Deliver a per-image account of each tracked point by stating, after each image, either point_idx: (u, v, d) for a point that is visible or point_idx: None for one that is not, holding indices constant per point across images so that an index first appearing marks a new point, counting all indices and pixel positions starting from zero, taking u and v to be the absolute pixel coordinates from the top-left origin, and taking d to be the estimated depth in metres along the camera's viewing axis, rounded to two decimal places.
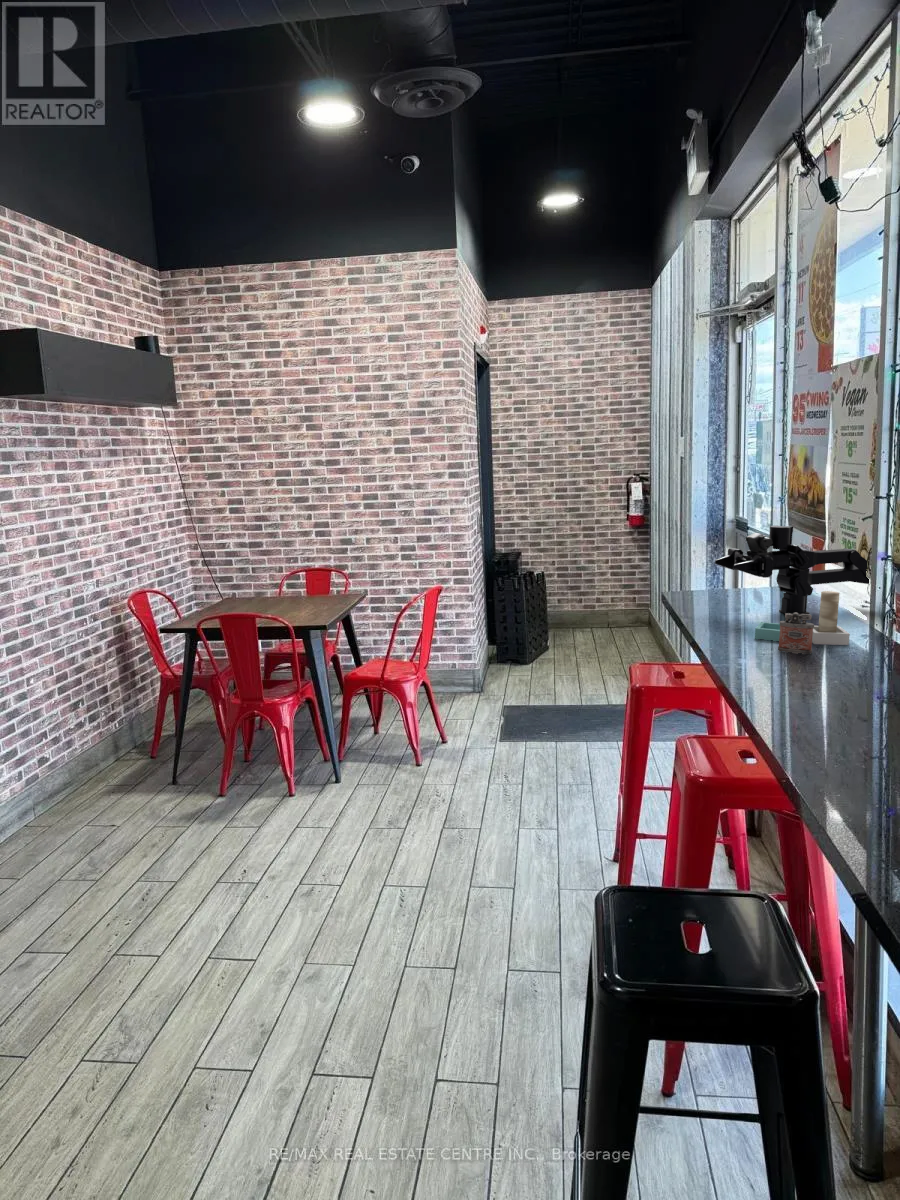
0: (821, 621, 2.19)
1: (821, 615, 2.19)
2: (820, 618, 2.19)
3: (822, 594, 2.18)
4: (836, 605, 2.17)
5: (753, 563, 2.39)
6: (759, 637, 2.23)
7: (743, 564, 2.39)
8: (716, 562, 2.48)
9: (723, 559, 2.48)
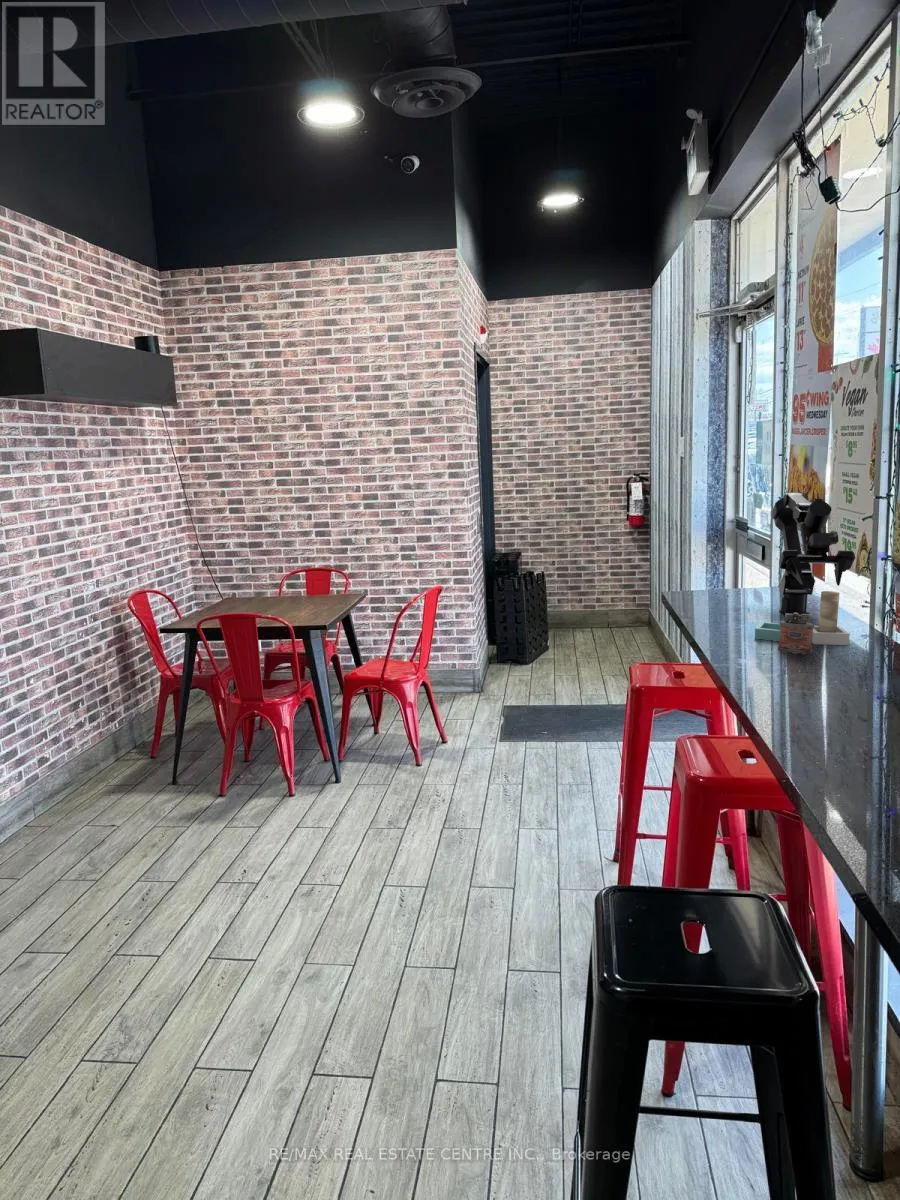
0: (821, 621, 2.19)
1: (821, 615, 2.19)
2: (820, 618, 2.19)
3: (822, 594, 2.18)
4: (836, 605, 2.17)
5: None
6: (759, 637, 2.23)
7: (841, 575, 2.25)
8: None
9: None
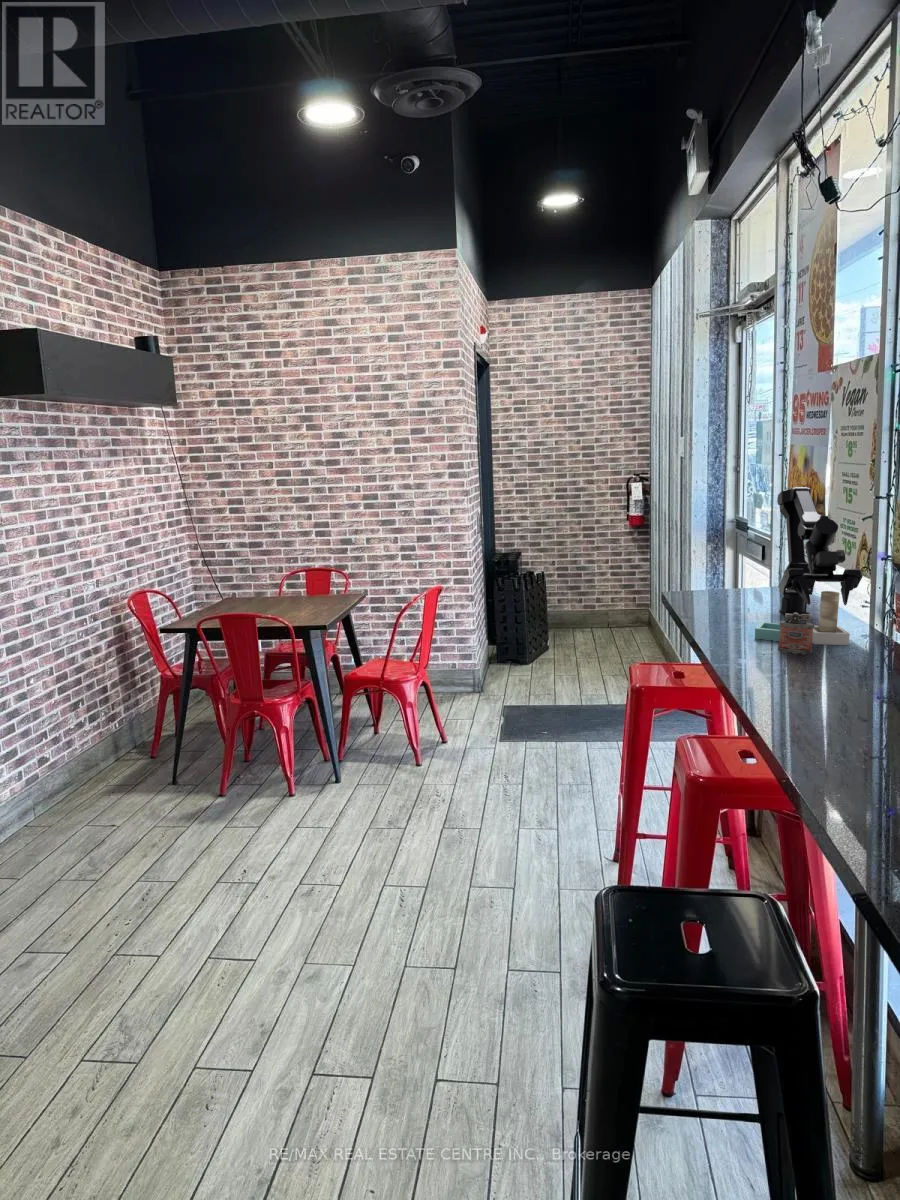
0: (821, 621, 2.19)
1: (821, 615, 2.19)
2: (820, 618, 2.19)
3: (822, 594, 2.18)
4: (836, 605, 2.17)
5: None
6: (759, 637, 2.23)
7: (848, 595, 2.21)
8: (809, 603, 2.21)
9: None
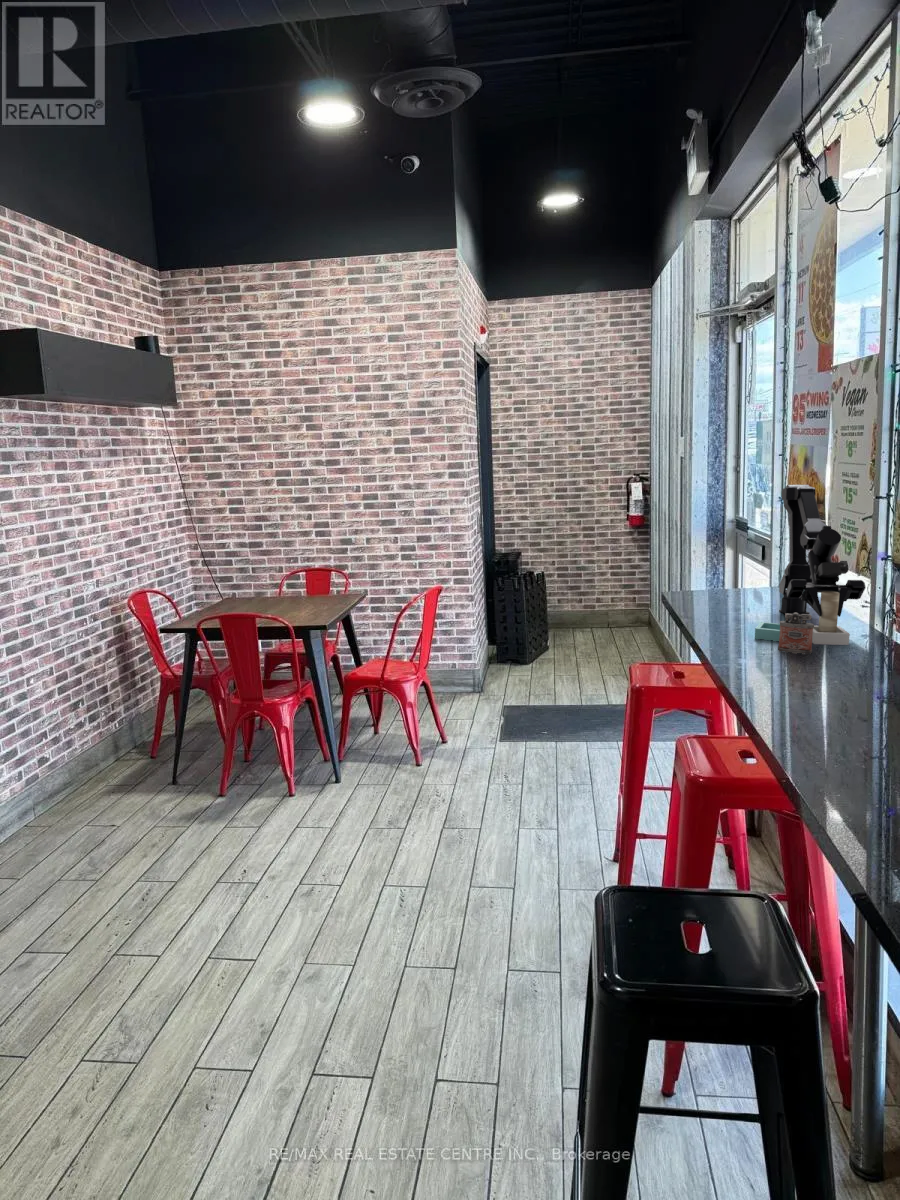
0: (821, 621, 2.19)
1: (821, 615, 2.19)
2: (820, 618, 2.19)
3: (822, 594, 2.18)
4: (836, 605, 2.17)
5: None
6: (759, 637, 2.23)
7: (842, 606, 2.18)
8: (821, 614, 2.19)
9: None
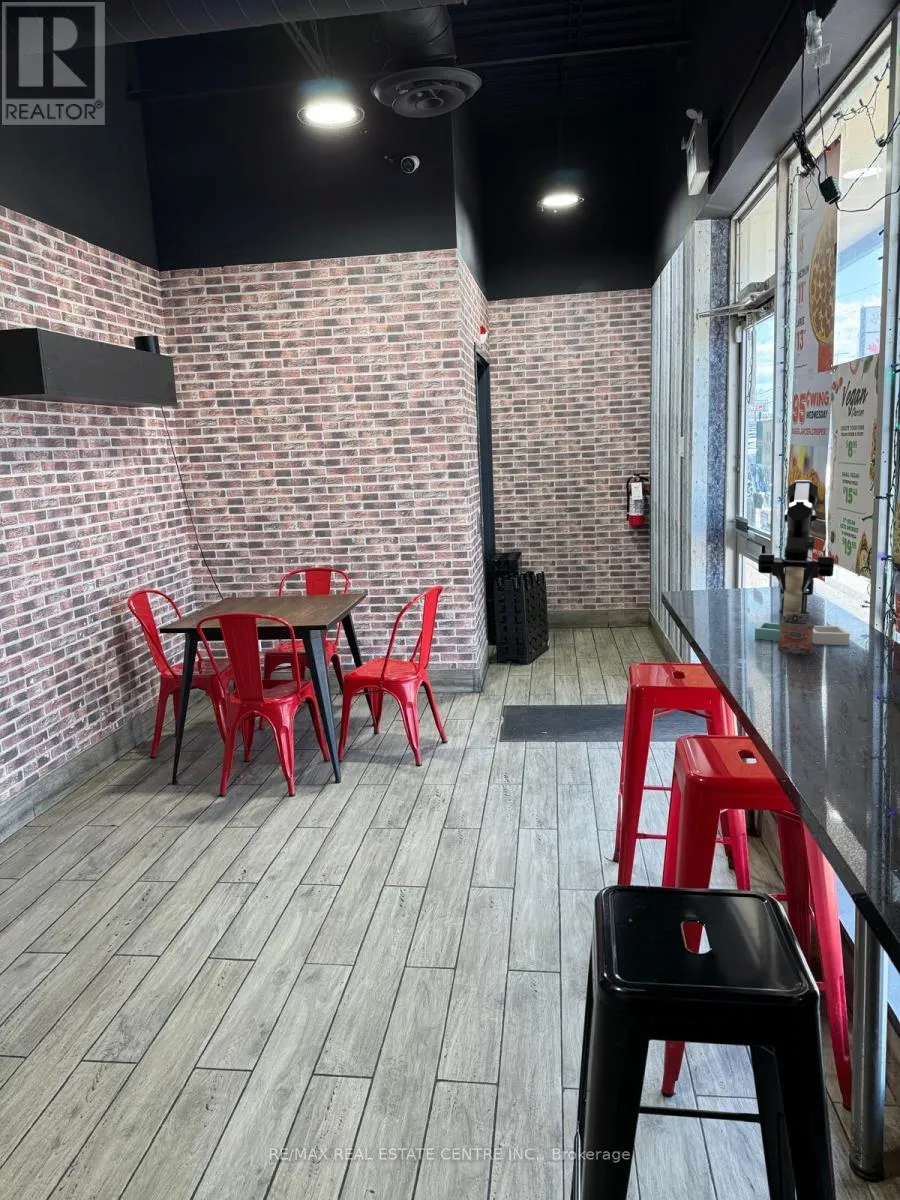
0: (785, 595, 2.20)
1: (785, 590, 2.20)
2: (784, 593, 2.21)
3: (786, 569, 2.20)
4: (799, 580, 2.18)
5: None
6: (759, 637, 2.23)
7: (807, 581, 2.19)
8: (784, 589, 2.20)
9: (784, 580, 2.21)
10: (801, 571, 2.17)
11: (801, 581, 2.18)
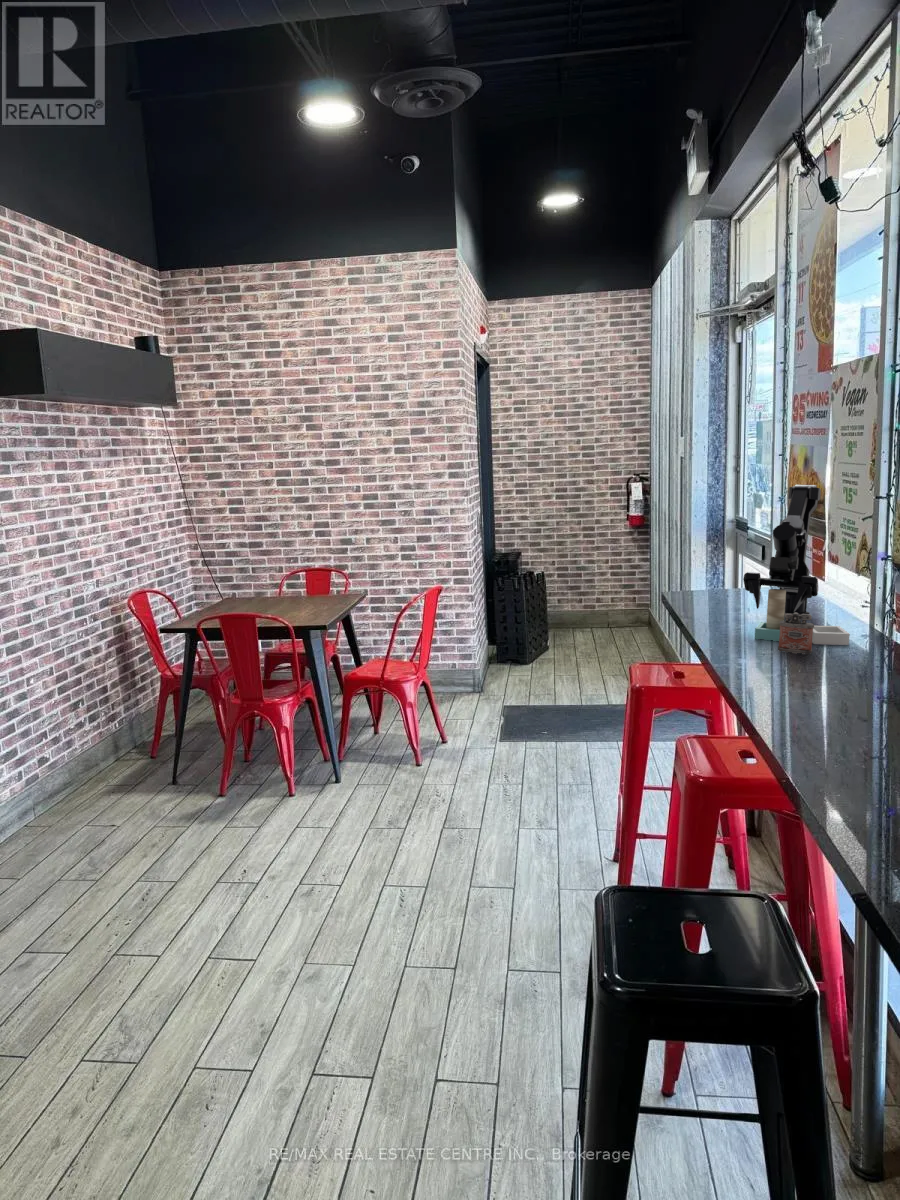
0: (767, 617, 2.24)
1: (767, 612, 2.24)
2: (767, 615, 2.24)
3: (768, 591, 2.23)
4: (780, 603, 2.21)
5: None
6: (759, 637, 2.23)
7: (798, 601, 2.20)
8: (758, 607, 2.24)
9: (758, 598, 2.25)
10: (782, 594, 2.20)
11: (782, 604, 2.21)
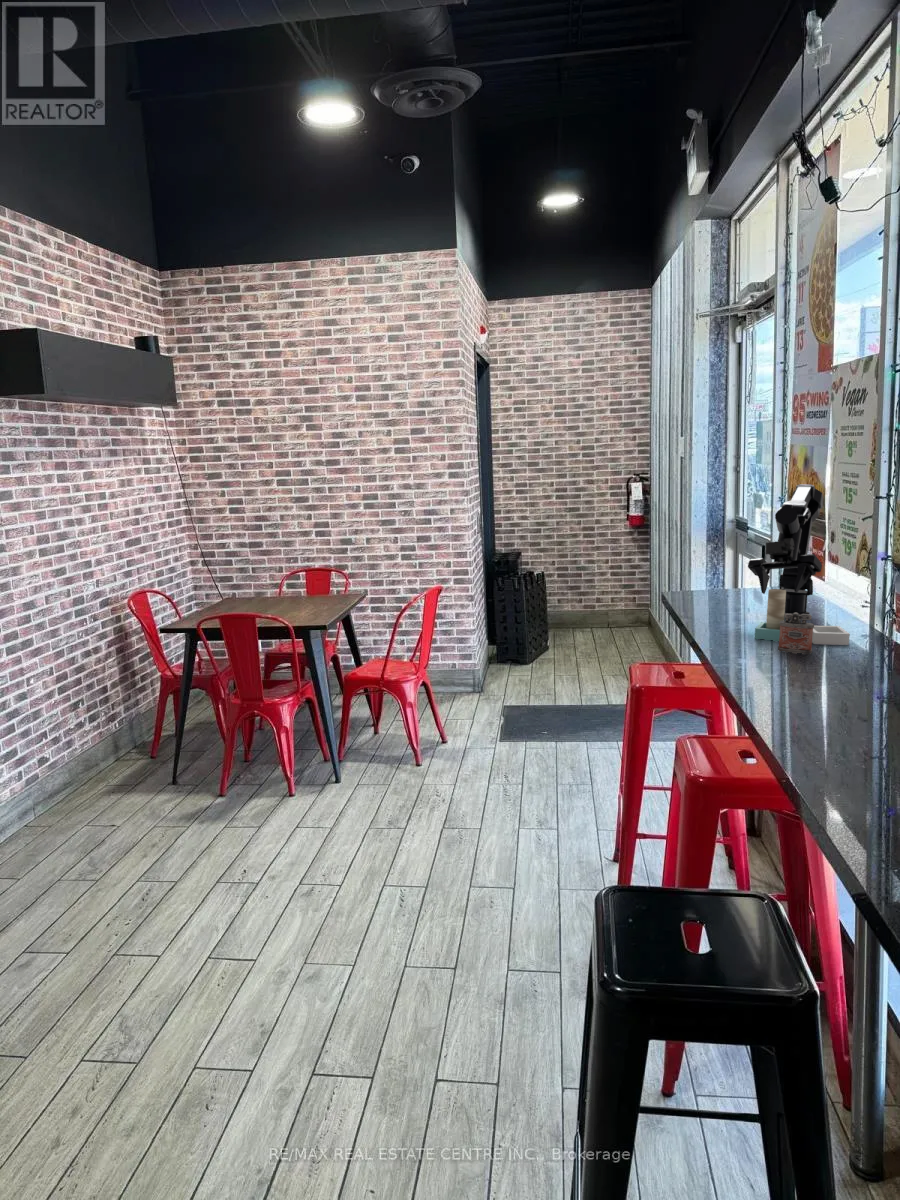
0: (767, 617, 2.24)
1: (767, 612, 2.24)
2: (767, 615, 2.24)
3: (768, 591, 2.23)
4: (780, 603, 2.21)
5: None
6: (759, 637, 2.23)
7: (799, 581, 2.24)
8: (764, 592, 2.31)
9: (763, 583, 2.31)
10: (782, 594, 2.20)
11: (782, 604, 2.21)
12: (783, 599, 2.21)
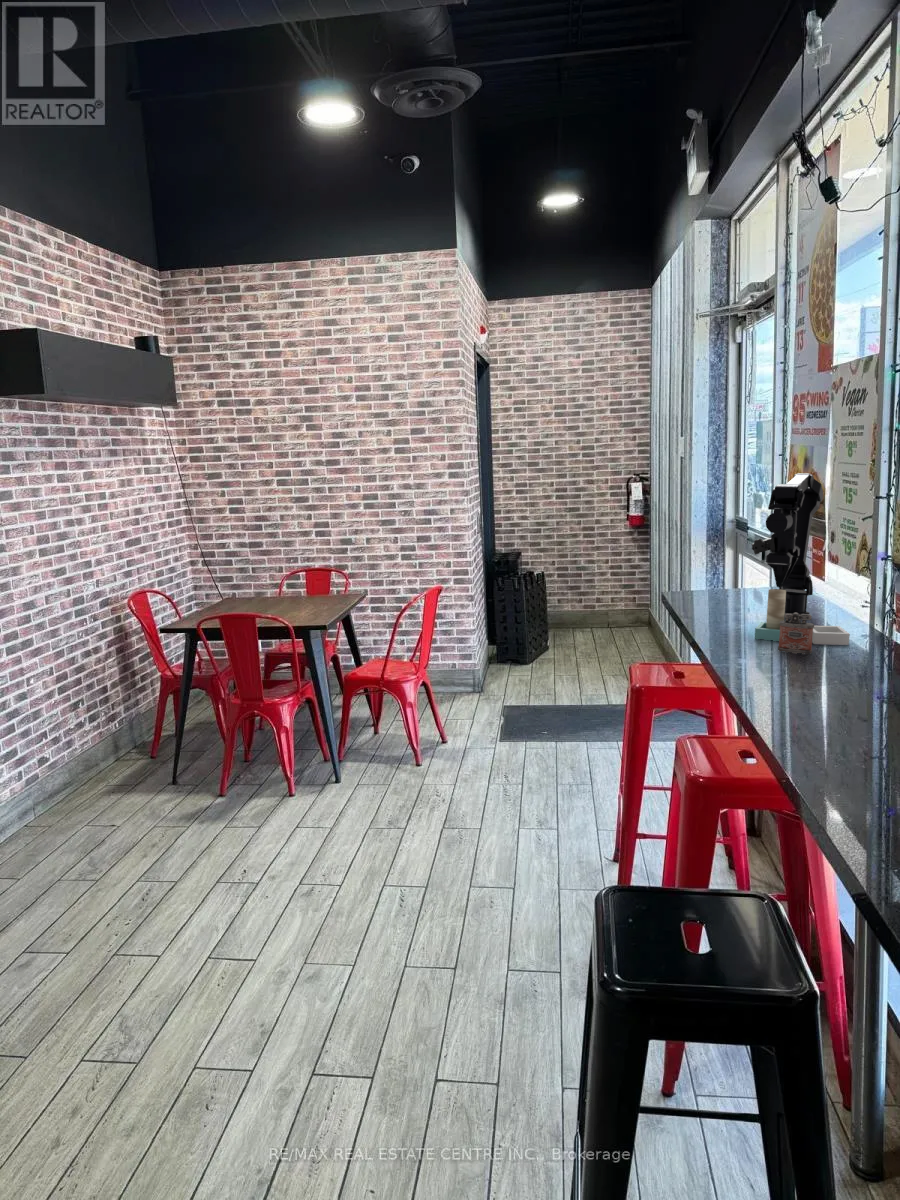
0: (767, 617, 2.24)
1: (767, 612, 2.24)
2: (767, 615, 2.24)
3: (768, 591, 2.23)
4: (780, 603, 2.21)
5: (776, 566, 2.30)
6: (759, 637, 2.23)
7: (776, 578, 2.31)
8: (784, 580, 2.40)
9: None
10: (782, 594, 2.20)
11: (782, 604, 2.21)
12: (783, 599, 2.21)
